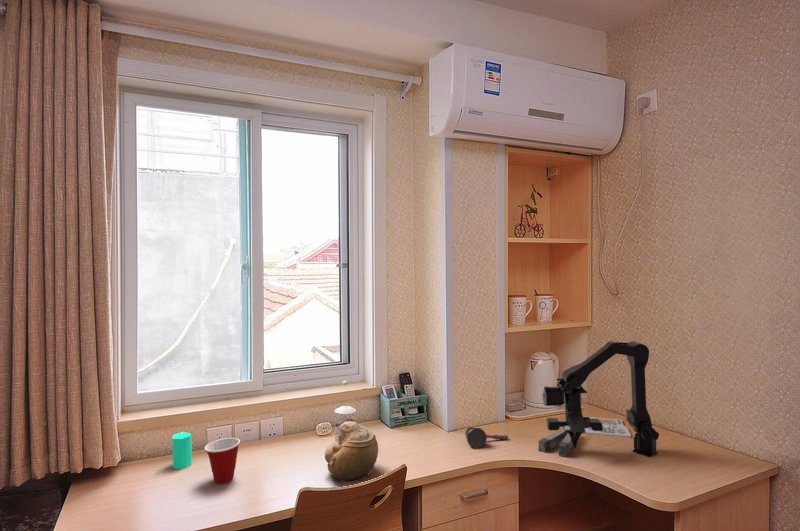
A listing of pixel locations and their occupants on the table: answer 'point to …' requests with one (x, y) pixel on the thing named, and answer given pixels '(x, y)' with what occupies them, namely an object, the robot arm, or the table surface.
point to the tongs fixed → (552, 440)
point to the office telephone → (610, 428)
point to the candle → (182, 450)
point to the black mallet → (480, 437)
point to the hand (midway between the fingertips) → (574, 447)
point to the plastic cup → (223, 458)
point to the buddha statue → (352, 452)
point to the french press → (343, 411)
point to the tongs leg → (565, 446)
